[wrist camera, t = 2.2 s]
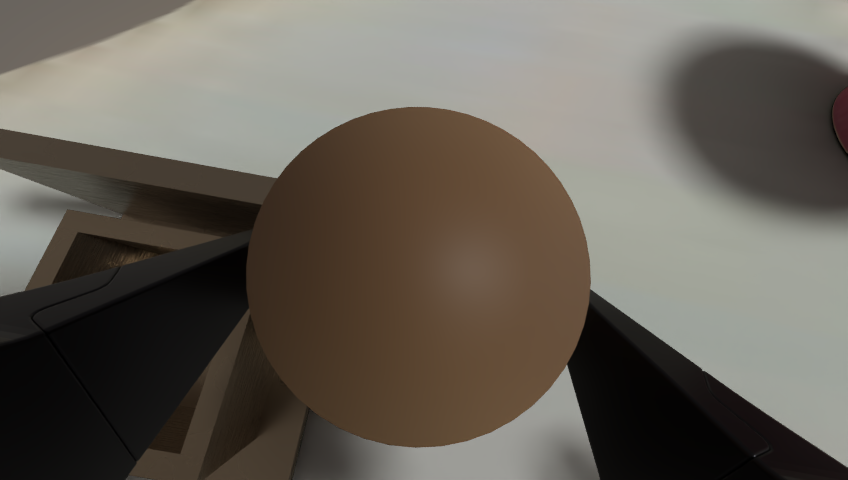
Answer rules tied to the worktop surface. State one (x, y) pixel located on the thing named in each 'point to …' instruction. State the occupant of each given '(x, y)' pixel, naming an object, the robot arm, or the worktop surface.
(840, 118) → the plant pot
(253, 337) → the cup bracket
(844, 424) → the worktop surface
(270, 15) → the worktop surface
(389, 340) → the wooden pestle
